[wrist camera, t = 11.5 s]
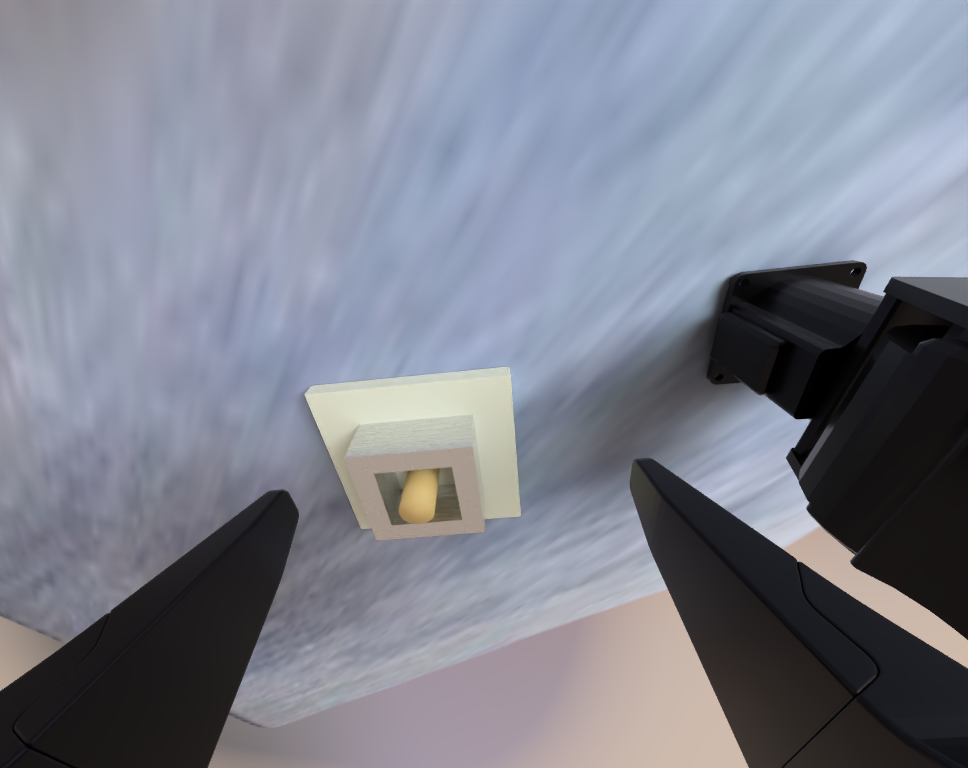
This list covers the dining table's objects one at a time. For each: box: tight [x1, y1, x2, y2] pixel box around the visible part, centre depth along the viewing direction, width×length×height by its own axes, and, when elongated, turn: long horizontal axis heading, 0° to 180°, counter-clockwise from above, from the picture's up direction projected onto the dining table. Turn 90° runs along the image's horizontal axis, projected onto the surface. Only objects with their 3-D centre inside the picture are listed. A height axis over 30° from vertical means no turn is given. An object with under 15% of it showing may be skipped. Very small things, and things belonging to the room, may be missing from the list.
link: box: [344, 414, 485, 541], centre depth 22 cm, size 7×7×3 cm
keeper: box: [304, 367, 521, 529], centre depth 22 cm, size 12×12×5 cm
